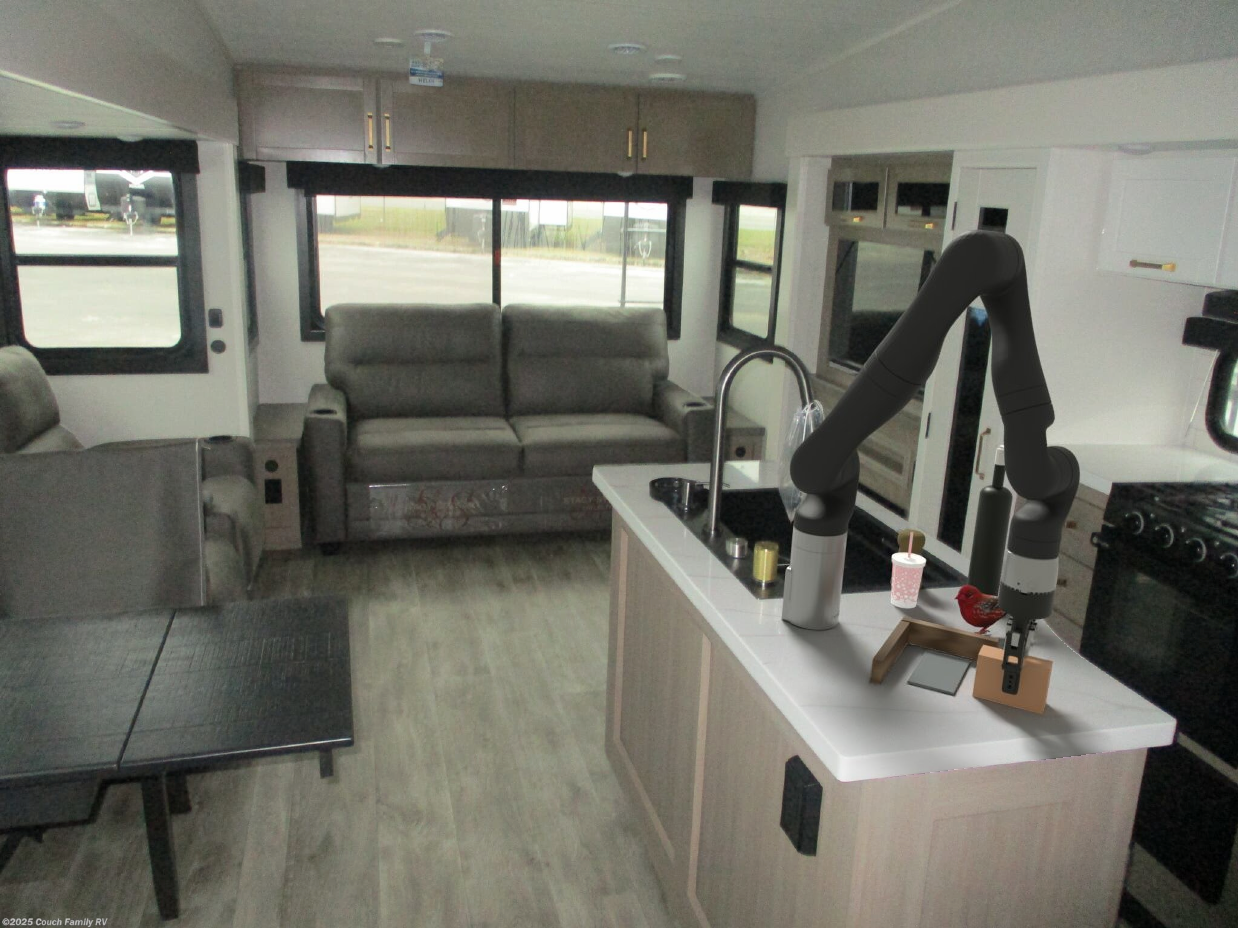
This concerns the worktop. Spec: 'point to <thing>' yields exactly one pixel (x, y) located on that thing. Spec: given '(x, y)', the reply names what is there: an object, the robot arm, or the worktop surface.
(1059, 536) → the robot arm
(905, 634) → the walnut corner
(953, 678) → the slate pad
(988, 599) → the decorative bird figurine
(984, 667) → the terracotta block
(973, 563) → the wine bottle
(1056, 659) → the worktop surface
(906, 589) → the beverage cup
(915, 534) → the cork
